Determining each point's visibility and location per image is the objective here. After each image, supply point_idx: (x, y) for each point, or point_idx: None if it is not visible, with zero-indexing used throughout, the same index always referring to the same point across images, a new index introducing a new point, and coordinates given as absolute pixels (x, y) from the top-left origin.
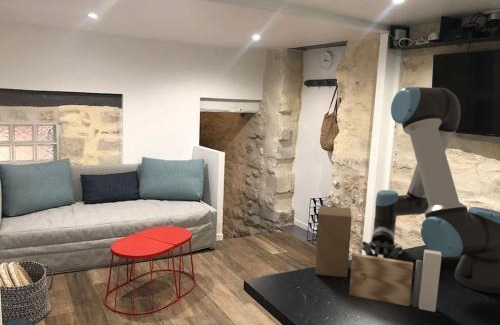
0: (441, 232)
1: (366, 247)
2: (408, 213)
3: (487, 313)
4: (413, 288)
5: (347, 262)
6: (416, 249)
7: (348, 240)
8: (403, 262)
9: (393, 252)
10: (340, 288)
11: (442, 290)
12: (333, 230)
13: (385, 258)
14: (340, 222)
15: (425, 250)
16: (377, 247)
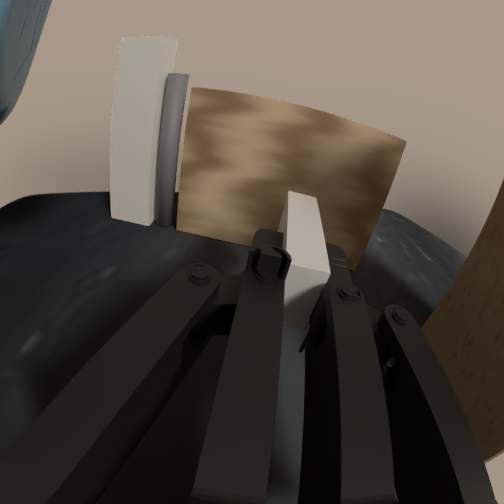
0: None
1: (466, 425)
2: None
3: (12, 208)
4: (175, 171)
5: (441, 300)
6: None
7: (500, 190)
8: (227, 91)
9: (137, 350)
10: (385, 287)
11: (3, 289)
12: None
13: (290, 103)
14: None
15: (167, 37)
16: (369, 488)
